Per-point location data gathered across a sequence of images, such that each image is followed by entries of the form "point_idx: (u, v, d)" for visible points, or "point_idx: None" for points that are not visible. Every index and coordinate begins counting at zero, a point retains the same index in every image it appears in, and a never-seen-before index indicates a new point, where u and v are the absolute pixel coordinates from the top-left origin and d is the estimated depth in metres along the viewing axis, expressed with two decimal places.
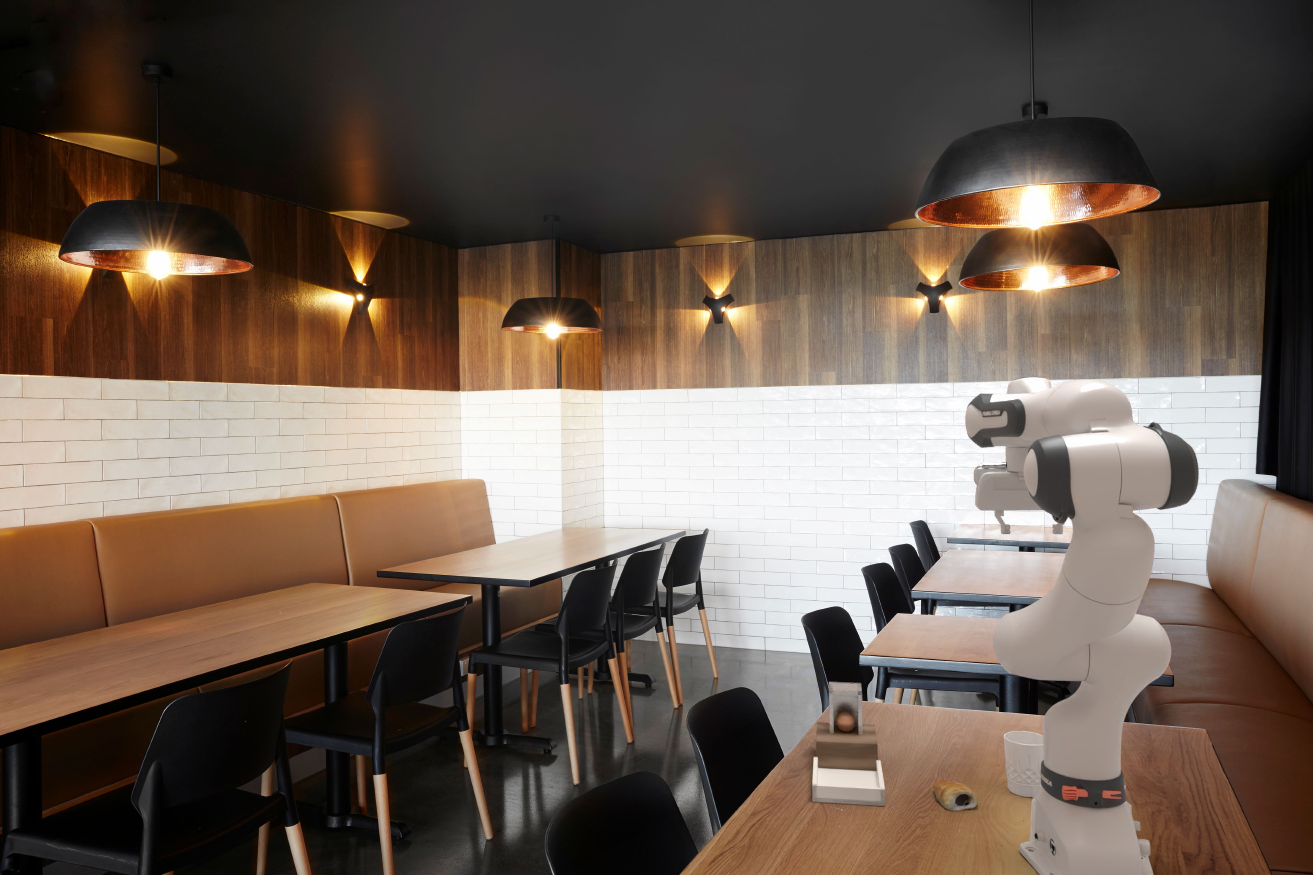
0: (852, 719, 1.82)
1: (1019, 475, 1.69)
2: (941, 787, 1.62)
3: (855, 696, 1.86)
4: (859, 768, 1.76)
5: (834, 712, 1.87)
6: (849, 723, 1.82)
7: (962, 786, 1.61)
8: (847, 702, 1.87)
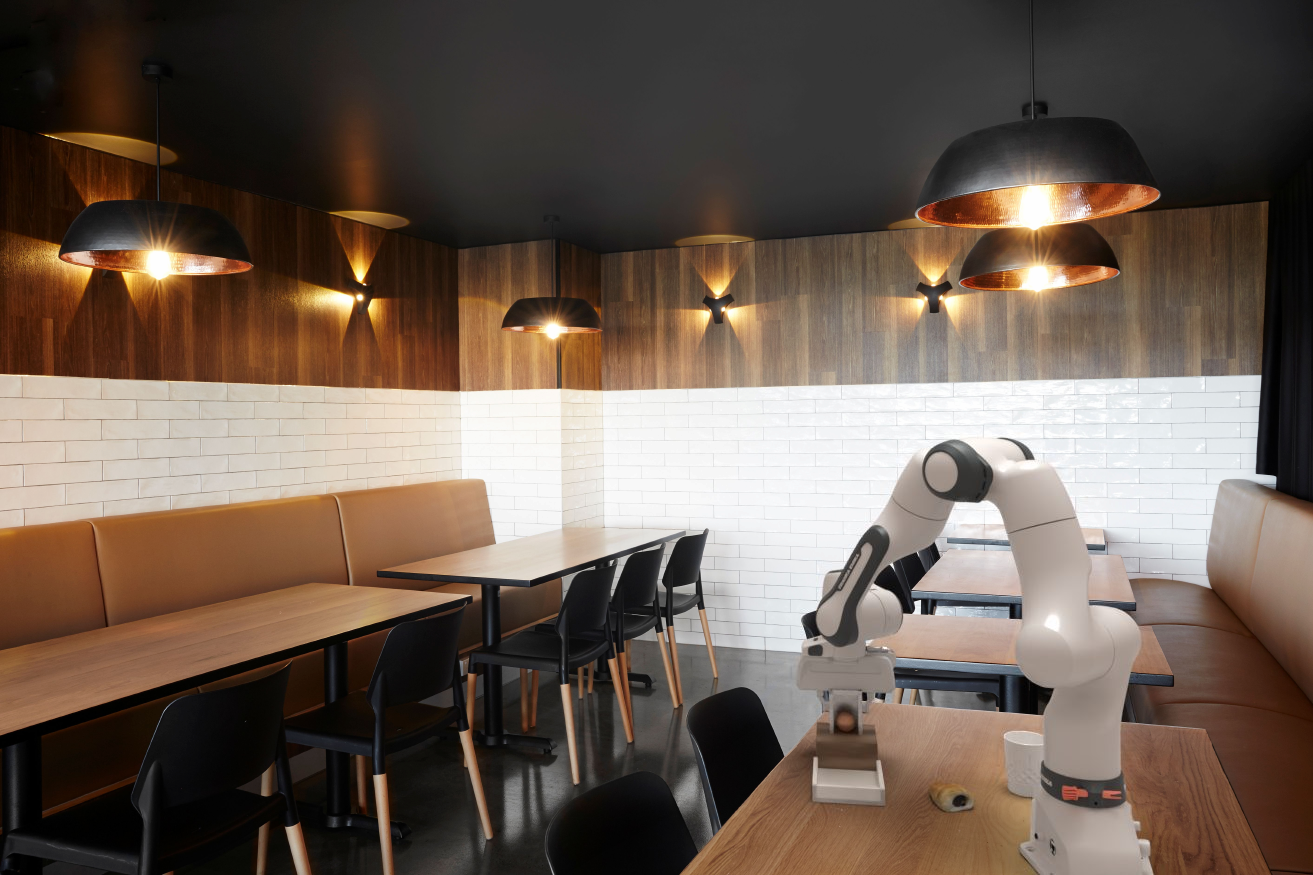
0: (852, 719, 1.82)
1: None
2: (937, 788, 1.61)
3: (855, 696, 1.86)
4: (859, 768, 1.76)
5: (834, 712, 1.87)
6: (849, 723, 1.82)
7: (958, 787, 1.61)
8: (847, 702, 1.87)
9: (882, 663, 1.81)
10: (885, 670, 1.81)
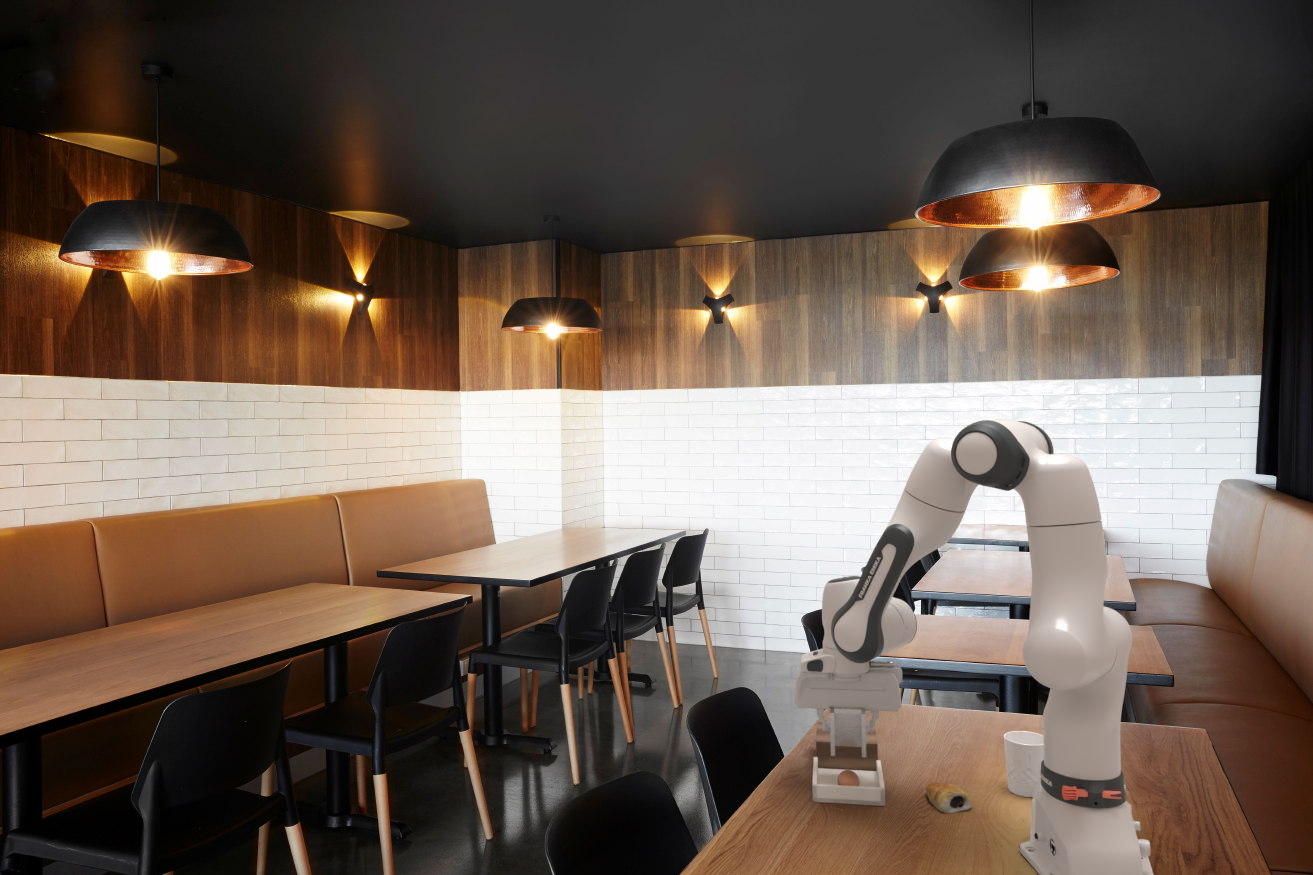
0: None
1: None
2: (935, 789, 1.61)
3: (858, 714, 1.73)
4: (859, 768, 1.76)
5: (836, 731, 1.74)
6: None
7: (955, 788, 1.60)
8: (849, 721, 1.73)
9: (887, 679, 1.68)
10: (890, 687, 1.68)
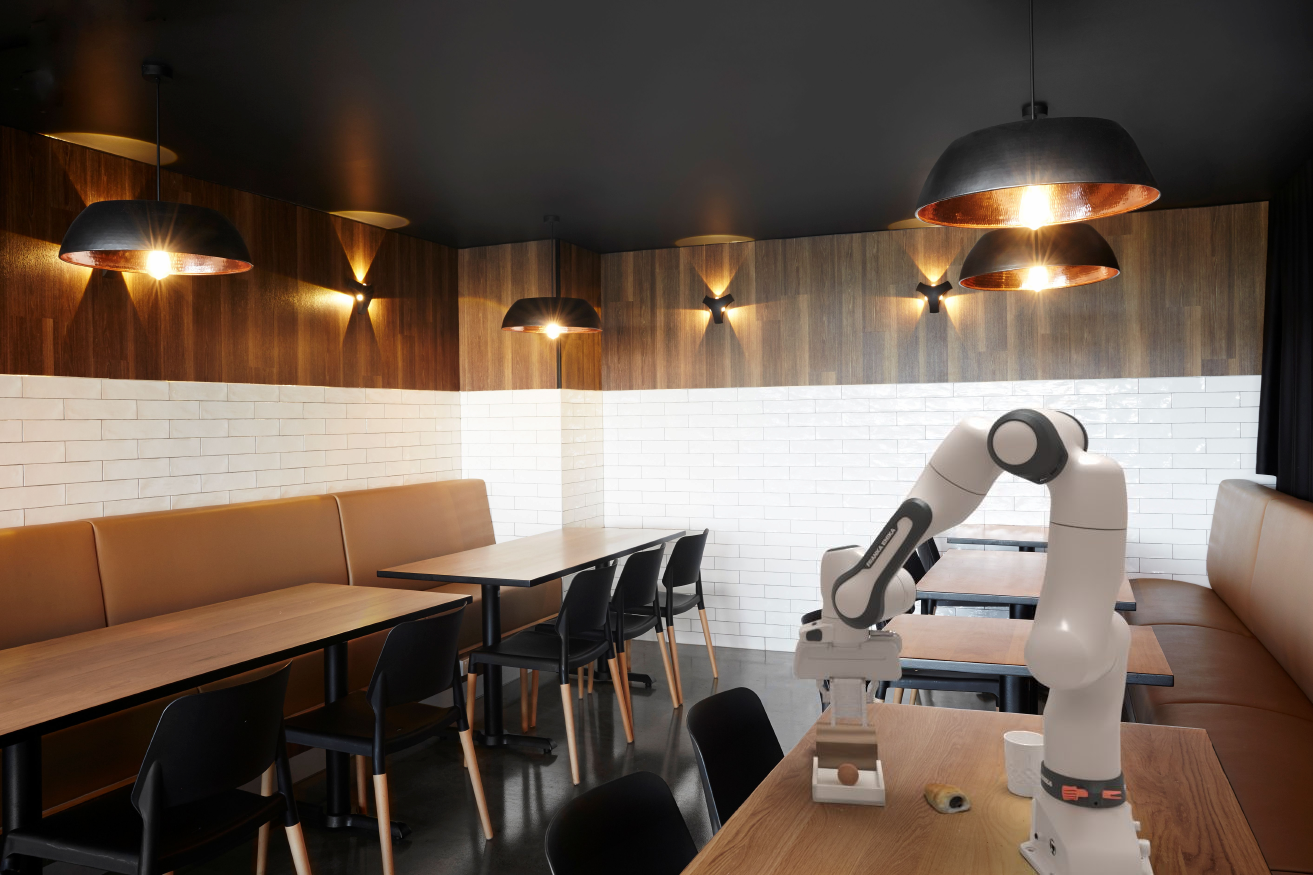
0: None
1: None
2: (933, 790, 1.61)
3: (858, 685, 1.71)
4: (859, 768, 1.76)
5: (836, 703, 1.72)
6: None
7: (954, 788, 1.60)
8: (849, 692, 1.72)
9: (887, 648, 1.66)
10: (890, 656, 1.66)
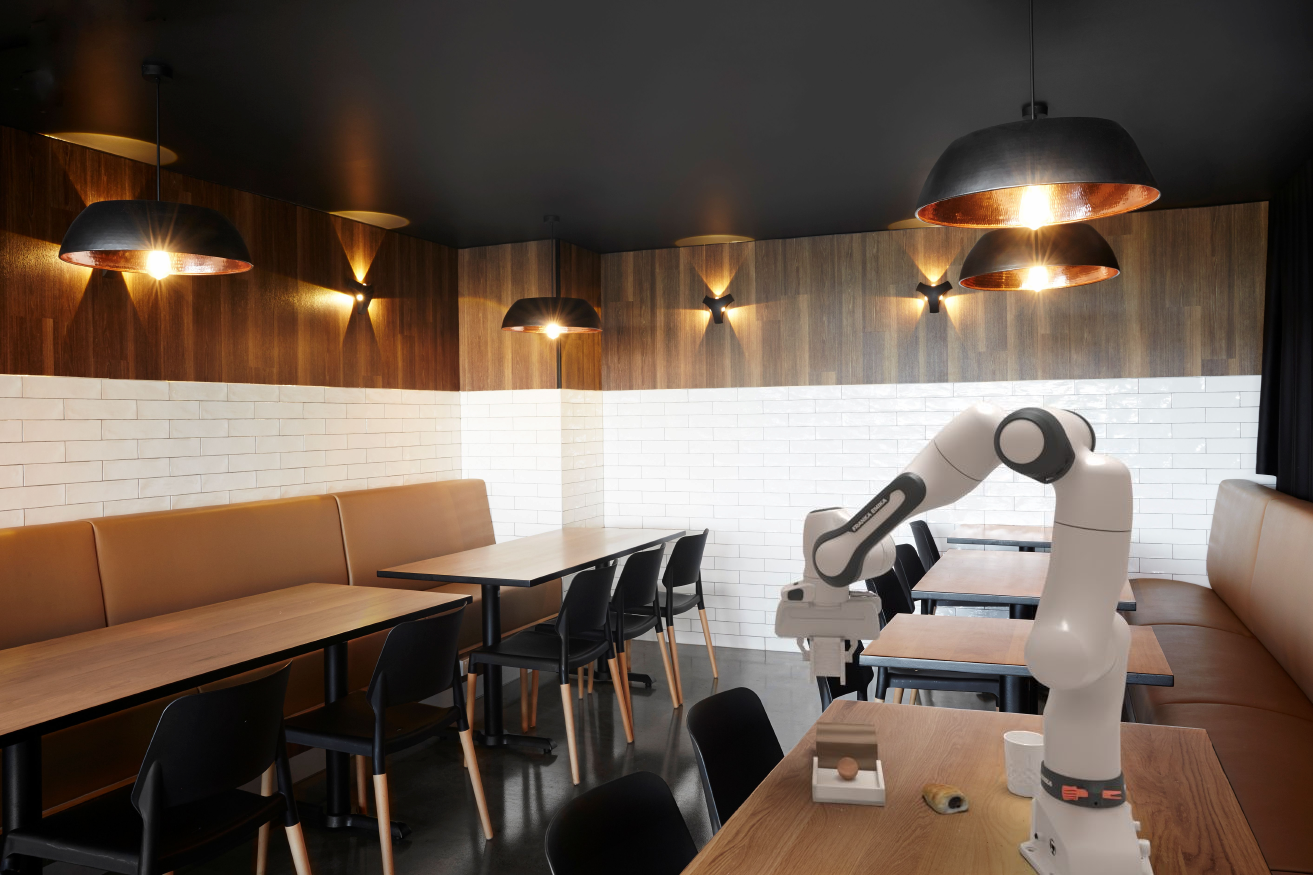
0: (854, 768, 1.70)
1: None
2: (932, 790, 1.60)
3: (837, 644, 1.75)
4: (859, 768, 1.76)
5: (815, 661, 1.76)
6: (851, 773, 1.70)
7: (953, 788, 1.60)
8: (829, 651, 1.75)
9: (867, 608, 1.70)
10: (869, 616, 1.70)
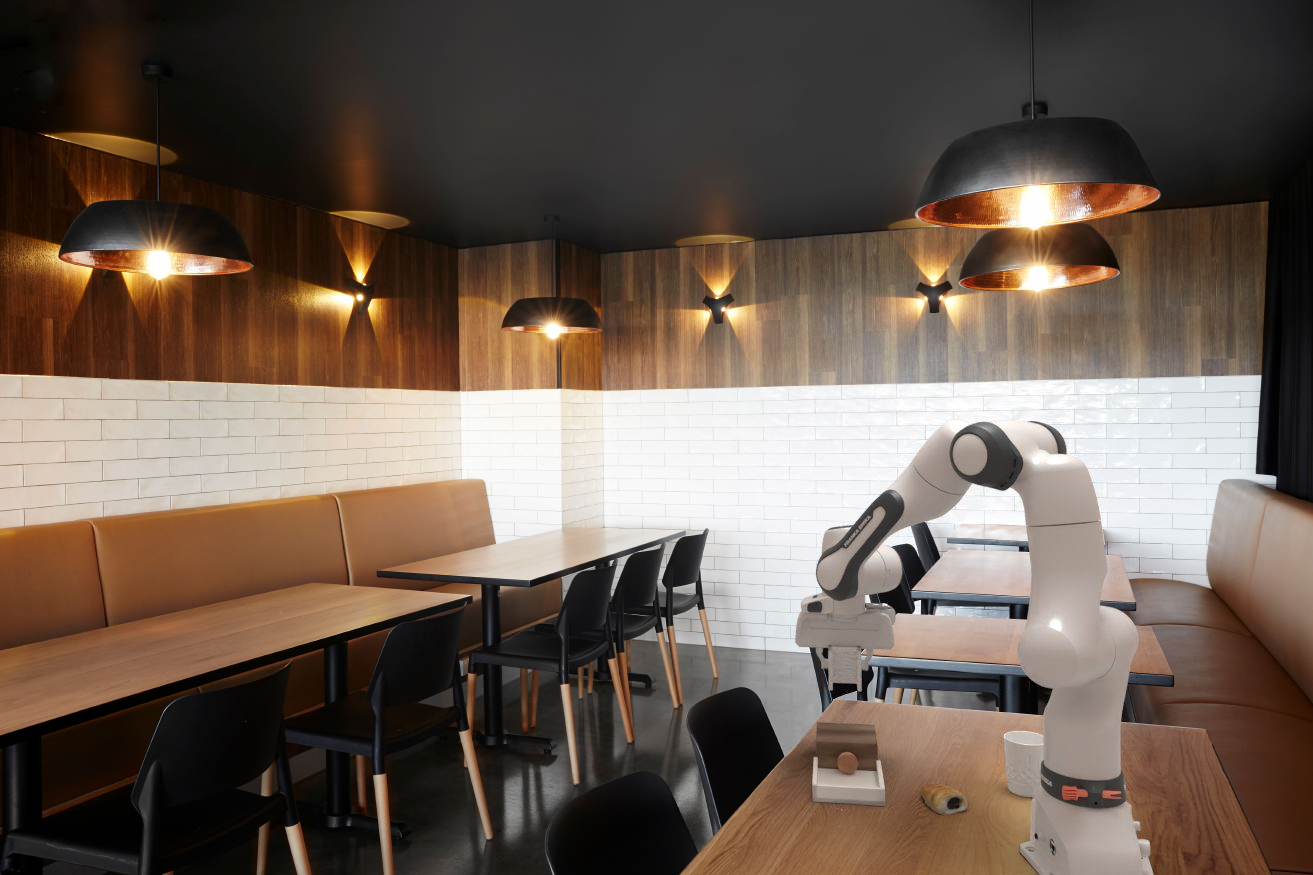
0: (854, 755, 1.75)
1: None
2: (931, 791, 1.60)
3: (854, 653, 1.86)
4: (859, 768, 1.76)
5: (833, 669, 1.87)
6: (851, 754, 1.74)
7: (951, 789, 1.60)
8: (846, 659, 1.87)
9: (882, 619, 1.81)
10: (884, 627, 1.81)
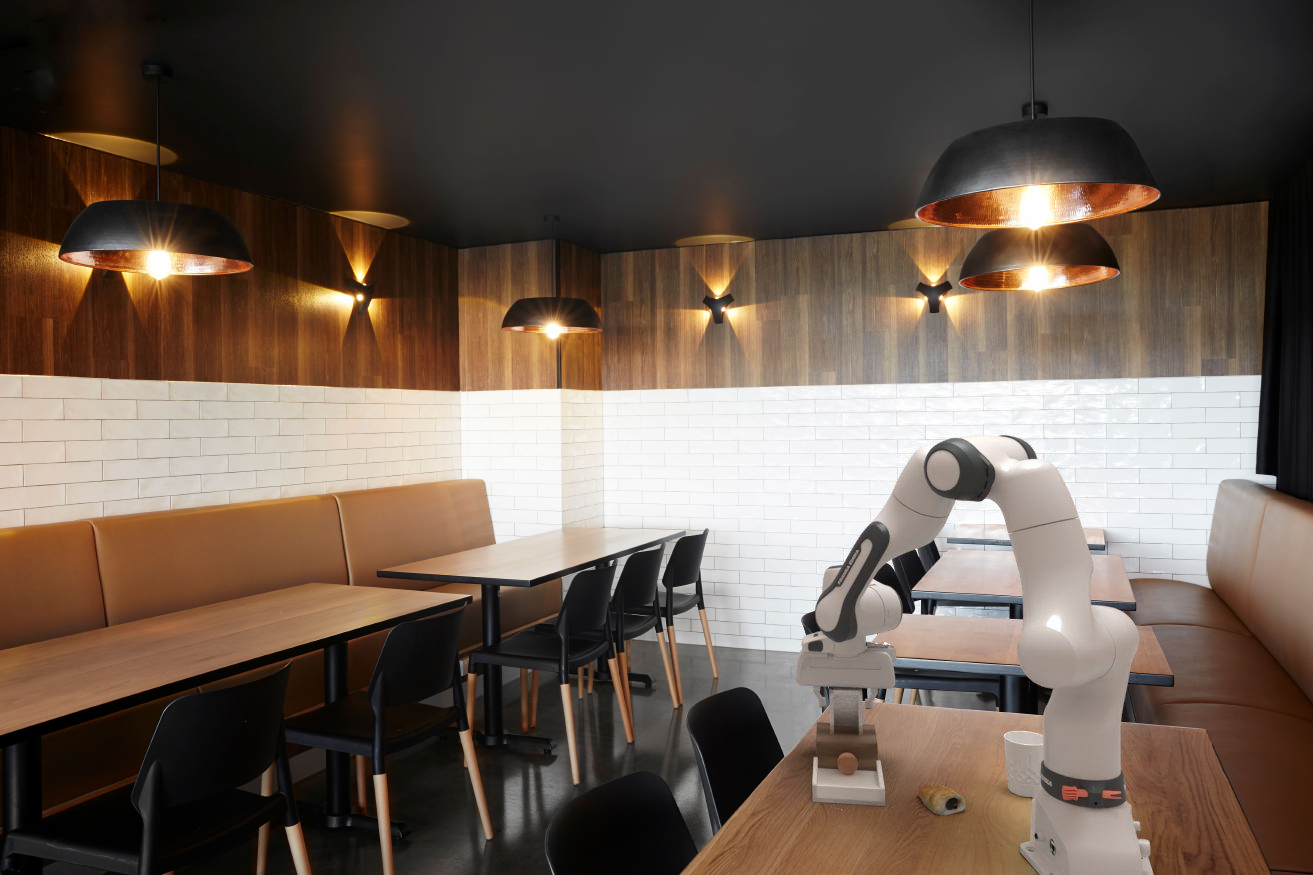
0: None
1: None
2: (929, 792, 1.60)
3: (855, 696, 1.86)
4: (859, 768, 1.76)
5: (834, 712, 1.87)
6: (851, 755, 1.74)
7: (949, 790, 1.60)
8: (847, 702, 1.87)
9: (882, 659, 1.81)
10: (885, 666, 1.81)
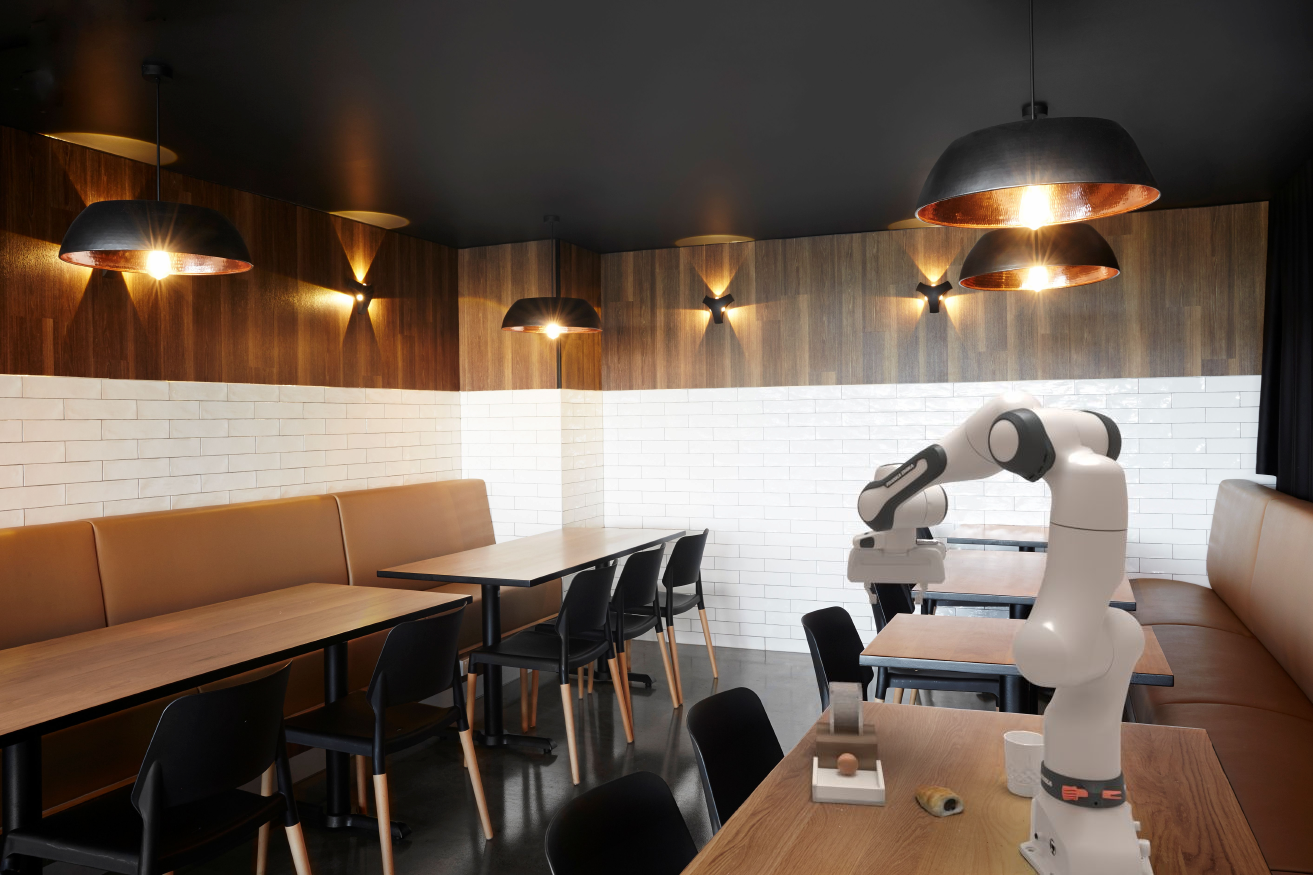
0: (854, 757, 1.74)
1: None
2: (926, 793, 1.59)
3: (855, 696, 1.86)
4: (859, 768, 1.76)
5: (834, 712, 1.87)
6: (851, 758, 1.73)
7: (947, 790, 1.59)
8: (847, 702, 1.87)
9: (933, 554, 1.86)
10: (935, 561, 1.86)
